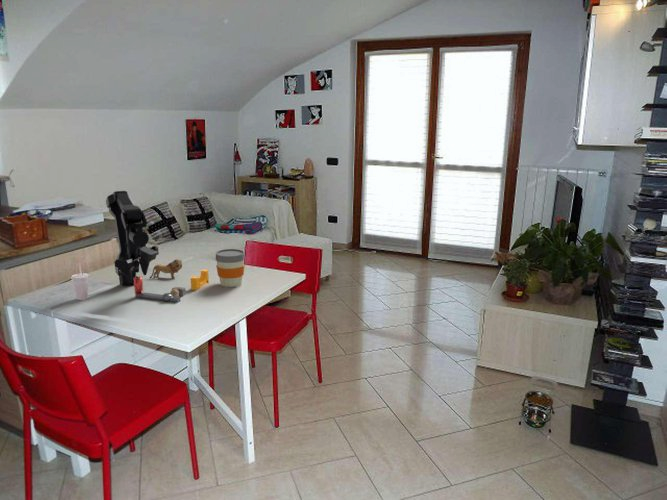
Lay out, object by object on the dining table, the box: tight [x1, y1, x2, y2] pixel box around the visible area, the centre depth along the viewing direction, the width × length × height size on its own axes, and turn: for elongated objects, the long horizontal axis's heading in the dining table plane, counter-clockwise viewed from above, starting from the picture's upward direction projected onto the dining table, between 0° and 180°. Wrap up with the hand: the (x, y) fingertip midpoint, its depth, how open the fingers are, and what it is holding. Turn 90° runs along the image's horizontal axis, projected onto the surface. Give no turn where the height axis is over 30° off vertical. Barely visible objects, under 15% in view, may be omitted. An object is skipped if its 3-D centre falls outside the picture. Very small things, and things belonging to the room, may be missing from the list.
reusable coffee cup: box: [215, 248, 246, 288], centre depth 218 cm, size 13×13×15 cm
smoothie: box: [70, 264, 90, 301], centre depth 199 cm, size 6×6×14 cm
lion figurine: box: [149, 258, 183, 280], centre depth 226 cm, size 15×5×9 cm, turn 103°
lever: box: [133, 276, 181, 303], centre depth 198 cm, size 19×4×8 cm, turn 75°
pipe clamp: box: [190, 269, 210, 291], centre depth 215 cm, size 12×4×6 cm, turn 170°
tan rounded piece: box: [169, 289, 179, 296], centre depth 201 cm, size 4×4×4 cm
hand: (137, 278), depth 199 cm, fingers open, 9 cm apart
